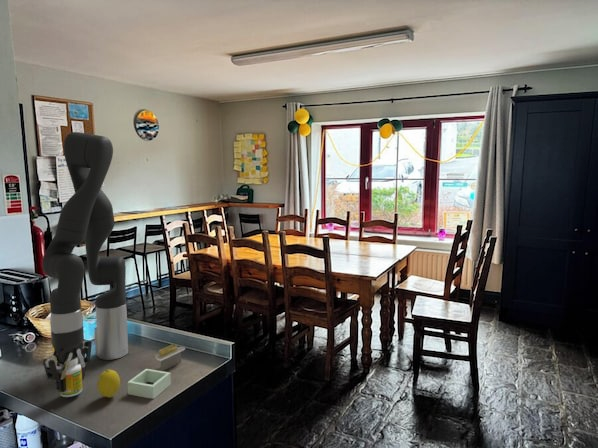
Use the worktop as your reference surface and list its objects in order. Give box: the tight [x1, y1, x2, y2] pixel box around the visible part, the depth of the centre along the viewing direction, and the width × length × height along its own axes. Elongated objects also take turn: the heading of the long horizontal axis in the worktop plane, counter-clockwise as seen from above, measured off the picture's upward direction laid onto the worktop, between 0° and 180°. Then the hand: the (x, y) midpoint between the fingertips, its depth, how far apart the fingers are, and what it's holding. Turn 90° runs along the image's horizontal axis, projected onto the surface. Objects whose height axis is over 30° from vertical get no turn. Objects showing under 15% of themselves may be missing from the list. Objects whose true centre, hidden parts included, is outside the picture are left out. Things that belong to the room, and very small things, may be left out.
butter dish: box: [155, 344, 186, 372], centre depth 130 cm, size 12×18×7 cm, turn 148°
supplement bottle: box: [59, 357, 83, 398], centre depth 111 cm, size 5×5×10 cm
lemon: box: [96, 368, 121, 399], centre depth 111 cm, size 6×6×8 cm
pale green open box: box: [126, 368, 172, 400], centre depth 116 cm, size 8×8×4 cm
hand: (71, 385), depth 112 cm, fingers closed on supplement bottle, 5 cm apart
